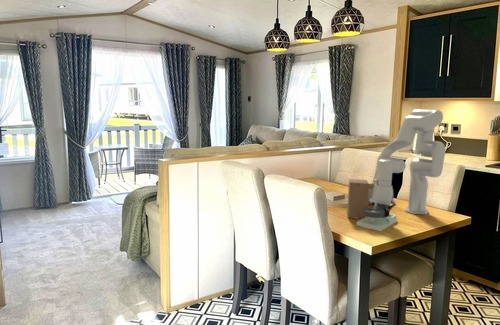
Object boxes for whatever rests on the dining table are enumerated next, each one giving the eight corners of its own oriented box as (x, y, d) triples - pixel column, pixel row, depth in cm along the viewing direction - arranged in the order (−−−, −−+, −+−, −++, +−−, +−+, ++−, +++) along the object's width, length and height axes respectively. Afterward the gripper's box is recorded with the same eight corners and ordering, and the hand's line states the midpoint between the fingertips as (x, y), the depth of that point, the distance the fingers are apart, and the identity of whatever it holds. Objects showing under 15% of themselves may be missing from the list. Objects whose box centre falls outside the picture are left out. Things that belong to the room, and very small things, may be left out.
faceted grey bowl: (368, 211, 205) (368, 207, 204) (384, 215, 199) (385, 210, 198) (360, 215, 198) (361, 210, 197) (377, 218, 192) (378, 214, 192)
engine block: (379, 214, 211) (380, 202, 210) (388, 215, 208) (389, 203, 207) (374, 216, 207) (375, 204, 206) (383, 218, 204) (384, 206, 202)
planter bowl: (352, 201, 247) (353, 185, 245) (368, 198, 257) (369, 182, 255) (374, 207, 234) (375, 190, 233) (389, 203, 244) (391, 187, 242)
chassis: (374, 216, 217) (374, 202, 215) (397, 221, 208) (398, 207, 207) (356, 225, 200) (357, 210, 199) (380, 231, 192) (382, 215, 190)
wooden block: (366, 218, 212) (368, 183, 208) (347, 217, 213) (349, 182, 210) (364, 213, 221) (367, 179, 218) (347, 212, 223) (349, 178, 220)
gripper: (365, 181, 207) (363, 214, 210) (397, 186, 196) (394, 220, 199) (371, 179, 213) (369, 211, 216) (402, 184, 202) (400, 217, 205)
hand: (381, 215), depth 207 cm, fingers closed on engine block, 4 cm apart
